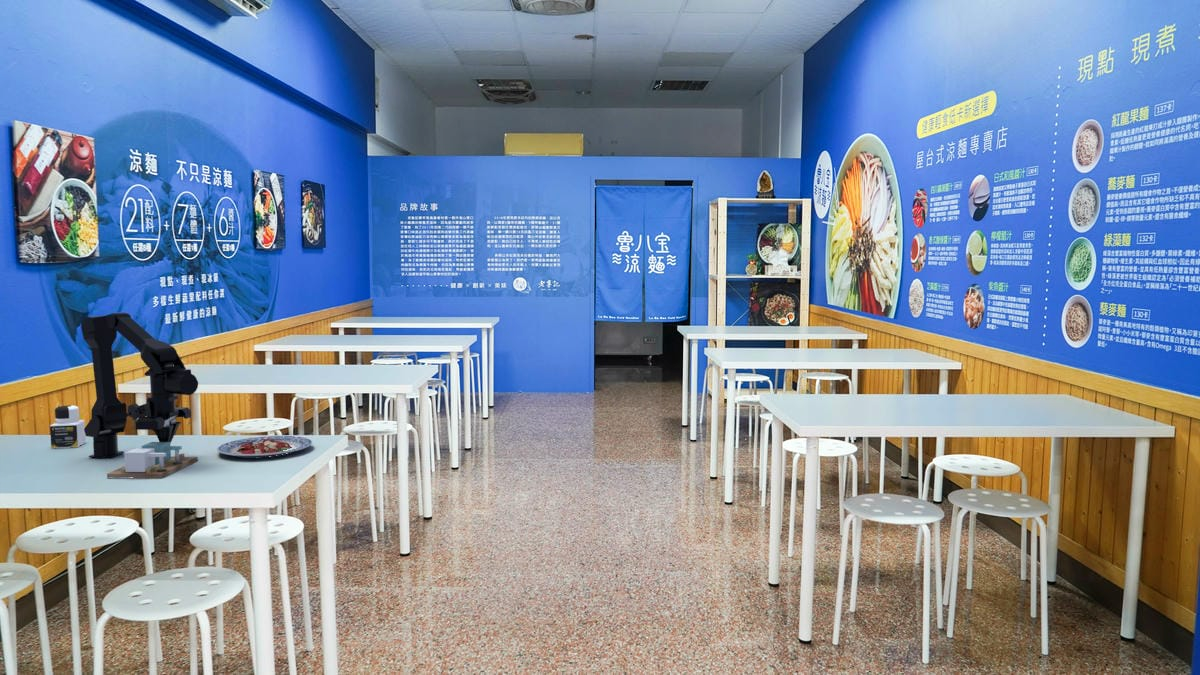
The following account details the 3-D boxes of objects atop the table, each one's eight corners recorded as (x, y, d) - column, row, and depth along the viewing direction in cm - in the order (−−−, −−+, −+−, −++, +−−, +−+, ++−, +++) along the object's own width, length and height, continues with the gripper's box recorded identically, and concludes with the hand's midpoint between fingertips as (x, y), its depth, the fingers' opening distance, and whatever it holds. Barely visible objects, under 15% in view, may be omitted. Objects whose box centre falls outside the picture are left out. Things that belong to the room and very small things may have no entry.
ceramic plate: (201, 453, 246) (200, 443, 246) (284, 439, 266) (284, 429, 265) (243, 467, 229) (243, 456, 229) (329, 451, 249) (329, 441, 249)
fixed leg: (136, 467, 222) (135, 448, 222) (170, 467, 222) (169, 448, 222) (125, 472, 217) (124, 452, 217) (160, 472, 217) (159, 452, 217)
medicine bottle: (50, 449, 251) (48, 408, 250) (60, 443, 258) (57, 404, 257) (77, 447, 253) (75, 407, 252) (86, 442, 260) (84, 403, 258)
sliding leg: (152, 460, 230) (151, 441, 230) (185, 460, 230) (184, 442, 230) (142, 464, 225) (141, 445, 225) (176, 464, 225) (175, 446, 225)
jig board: (147, 460, 236) (147, 452, 236) (197, 460, 236) (197, 453, 236) (107, 478, 217) (106, 469, 217) (161, 478, 217) (161, 469, 217)
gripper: (151, 387, 240) (154, 442, 242) (113, 398, 221) (116, 457, 223) (191, 387, 240) (193, 442, 241) (155, 398, 221) (158, 457, 223)
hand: (165, 449), depth 232 cm, fingers closed
